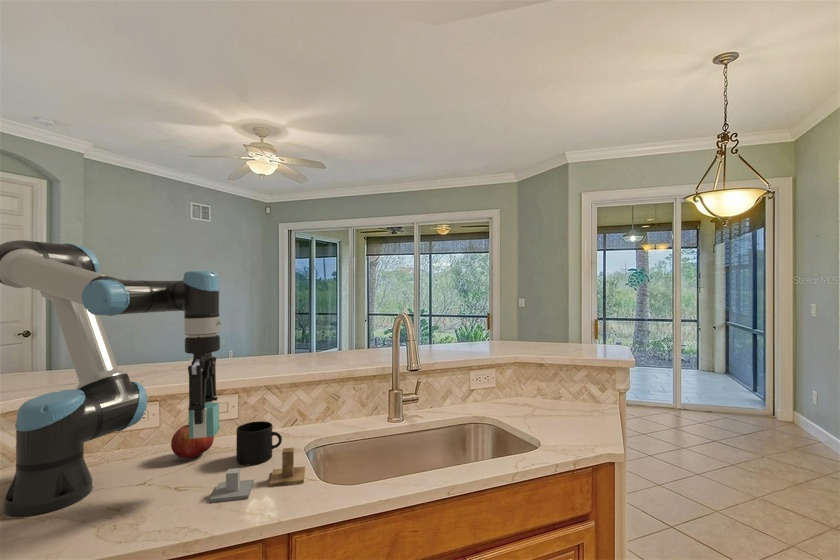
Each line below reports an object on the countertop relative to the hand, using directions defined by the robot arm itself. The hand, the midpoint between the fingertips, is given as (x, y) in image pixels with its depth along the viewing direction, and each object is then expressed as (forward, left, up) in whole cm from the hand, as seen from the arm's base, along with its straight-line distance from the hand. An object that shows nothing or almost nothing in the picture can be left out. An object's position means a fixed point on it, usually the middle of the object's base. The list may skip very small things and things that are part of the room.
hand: (204, 432), depth 100 cm
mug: (+10, +17, -14) cm, 24 cm away
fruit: (-9, +22, -14) cm, 28 cm away
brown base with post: (+19, +2, -14) cm, 24 cm away
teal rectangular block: (0, 0, 0) cm, 0 cm away
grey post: (+7, -3, -14) cm, 16 cm away
